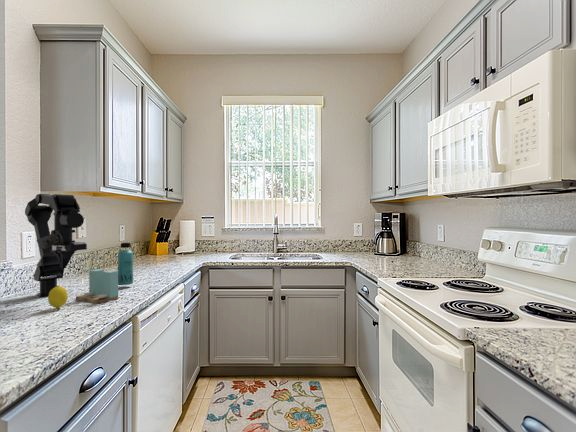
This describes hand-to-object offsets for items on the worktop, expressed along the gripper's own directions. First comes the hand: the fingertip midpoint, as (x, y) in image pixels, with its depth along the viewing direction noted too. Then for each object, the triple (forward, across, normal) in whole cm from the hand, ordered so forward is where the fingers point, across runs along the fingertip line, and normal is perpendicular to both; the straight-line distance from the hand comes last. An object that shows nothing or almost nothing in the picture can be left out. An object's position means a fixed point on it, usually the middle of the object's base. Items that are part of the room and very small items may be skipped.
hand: (63, 268), depth 126 cm
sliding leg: (+11, +8, +6) cm, 15 cm away
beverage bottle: (+12, +3, +26) cm, 29 cm away
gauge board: (+12, +11, +6) cm, 17 cm away
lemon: (+12, +11, -9) cm, 18 cm away
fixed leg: (+11, +16, +6) cm, 20 cm away
